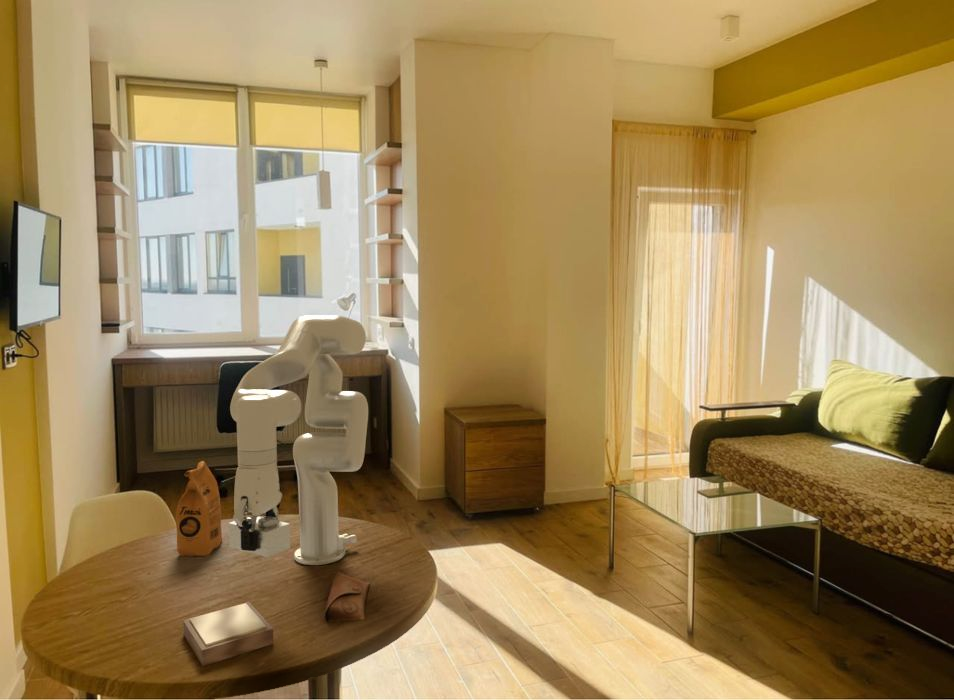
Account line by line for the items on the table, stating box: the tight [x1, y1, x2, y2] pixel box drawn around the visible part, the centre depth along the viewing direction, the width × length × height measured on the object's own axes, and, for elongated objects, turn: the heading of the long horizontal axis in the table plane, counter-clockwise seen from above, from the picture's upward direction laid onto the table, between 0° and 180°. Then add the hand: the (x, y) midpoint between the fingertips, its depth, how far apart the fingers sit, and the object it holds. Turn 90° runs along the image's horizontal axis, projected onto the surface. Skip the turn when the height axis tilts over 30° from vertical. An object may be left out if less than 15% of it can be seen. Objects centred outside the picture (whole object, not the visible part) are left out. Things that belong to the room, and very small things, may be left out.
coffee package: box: [175, 460, 223, 557], centre depth 179 cm, size 10×12×22 cm
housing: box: [228, 516, 291, 558], centre depth 139 cm, size 6×11×6 cm, turn 59°
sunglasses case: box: [324, 571, 371, 623], centre depth 149 cm, size 18×7×7 cm
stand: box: [182, 601, 275, 667], centre depth 133 cm, size 13×14×3 cm
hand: (260, 542), depth 139 cm, fingers closed on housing, 7 cm apart
